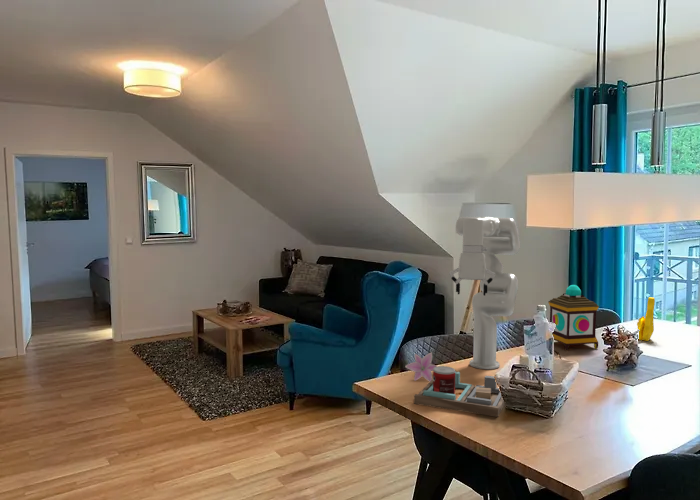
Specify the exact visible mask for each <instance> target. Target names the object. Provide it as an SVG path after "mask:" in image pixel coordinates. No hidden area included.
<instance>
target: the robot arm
mask: <svg viewBox="0 0 700 500" xmlns="http://www.w3.org/2000/svg"><path fill="white" fill-rule="evenodd" d="M455 231H456V233H457V234H458V235H459V236H462V252H460V254H459V259H458V261H459V262H458V267H456V268H455V269H453V270H450V271H449V272H448V274H449V277H450V278H451V280H452V282H453V283H455V292H456V293H457V295H460V294H461V281H462V280H465V281H467V280H468V281H469V280H471V281H480V283H479V289H480V292H477V293H475V294H473V296H472V301H471V304H472V305H471V306H472V312H473V353H472V354H473V355H472V356H473V358H472V359H470V360H469V366H470V367H472V368H474V369H480V370H496V369H499V368H500V366H501V364H500V361H497V342H498V341H497V335H498V330H497V329H498V327H497V322H496V321H495V319H494V318H493V316H497V317H498V316H499V317H511V316H512V315H513V314H514V311H515V307H516V301H517V297H518V291H519V290H518V289H519V280H518V277H517V276H516V275H515V274H513V273H508V272H507V273H506V272H504V265H503V263H502V261H501V260H500V259H499V258H498V257H497V256H496V255H506V256H509V255H510V256H513V255H514V256H515V255H517V254H519V252H520V249H521V240H520V235H519V230H518V226H517V223H516V220H515V219H514V218H511V217H495V216H494V217H493V216H460V217H458V218H457V220H456V223H455ZM456 273H458V274H457V275H458V278H457V277H455V275H454V274H456Z"/></svg>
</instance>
